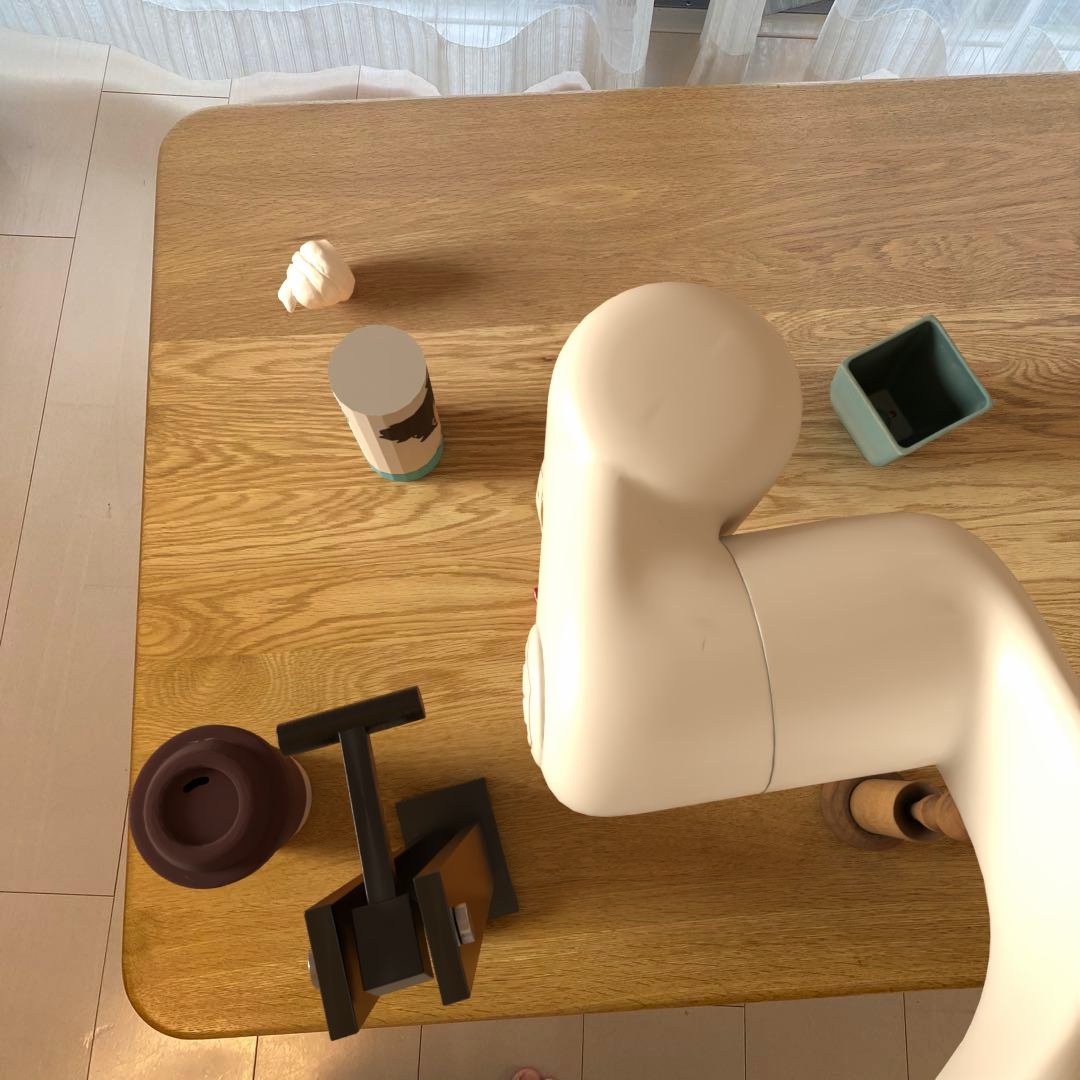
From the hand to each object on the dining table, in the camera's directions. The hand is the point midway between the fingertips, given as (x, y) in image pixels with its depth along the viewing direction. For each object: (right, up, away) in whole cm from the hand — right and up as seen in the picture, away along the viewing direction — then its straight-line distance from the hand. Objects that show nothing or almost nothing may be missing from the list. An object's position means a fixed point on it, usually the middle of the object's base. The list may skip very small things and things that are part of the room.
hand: (597, 596), depth 55 cm
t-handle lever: (-10, -9, -18) cm, 22 cm away
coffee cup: (-24, -16, +16) cm, 33 cm away
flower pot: (+25, +13, +24) cm, 37 cm away
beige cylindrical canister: (-15, +11, +23) cm, 30 cm away
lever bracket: (-10, -20, +15) cm, 27 cm away
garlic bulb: (-23, +24, +26) cm, 42 cm away
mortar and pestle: (+21, -17, +17) cm, 32 cm away
